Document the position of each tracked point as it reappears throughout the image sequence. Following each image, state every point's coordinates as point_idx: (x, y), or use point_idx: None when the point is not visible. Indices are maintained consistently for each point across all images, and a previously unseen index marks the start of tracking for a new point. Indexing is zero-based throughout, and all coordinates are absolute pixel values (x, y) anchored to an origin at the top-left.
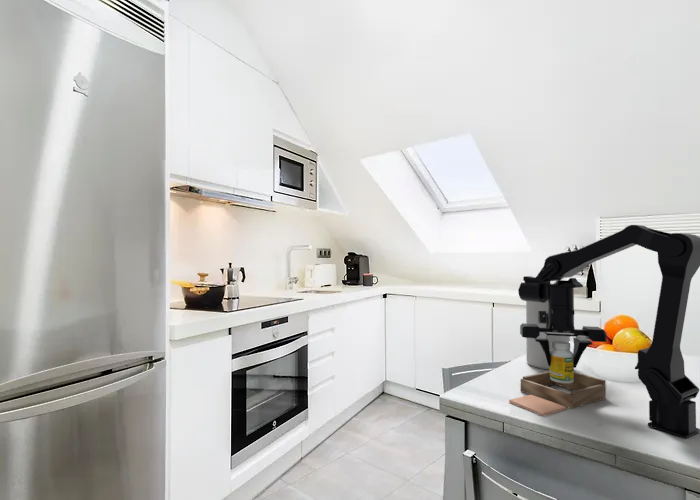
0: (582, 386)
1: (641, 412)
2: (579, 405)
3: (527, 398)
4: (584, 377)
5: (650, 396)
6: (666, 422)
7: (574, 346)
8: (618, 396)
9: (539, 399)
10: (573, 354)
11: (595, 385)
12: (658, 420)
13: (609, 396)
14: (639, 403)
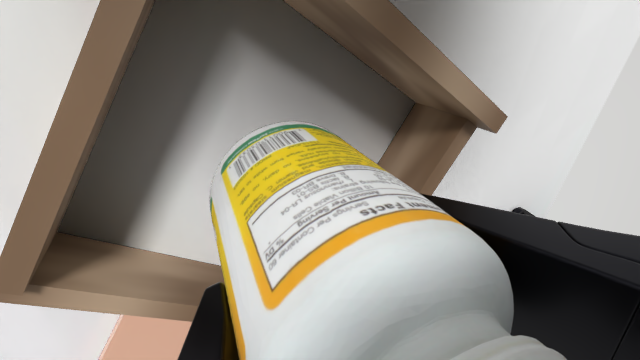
0: (374, 58)
1: (492, 175)
2: None
3: (136, 355)
4: (421, 75)
5: None
6: None
7: (635, 322)
8: (489, 19)
9: (189, 326)
10: (504, 257)
11: (440, 162)
12: None
13: (455, 44)
14: (523, 78)
